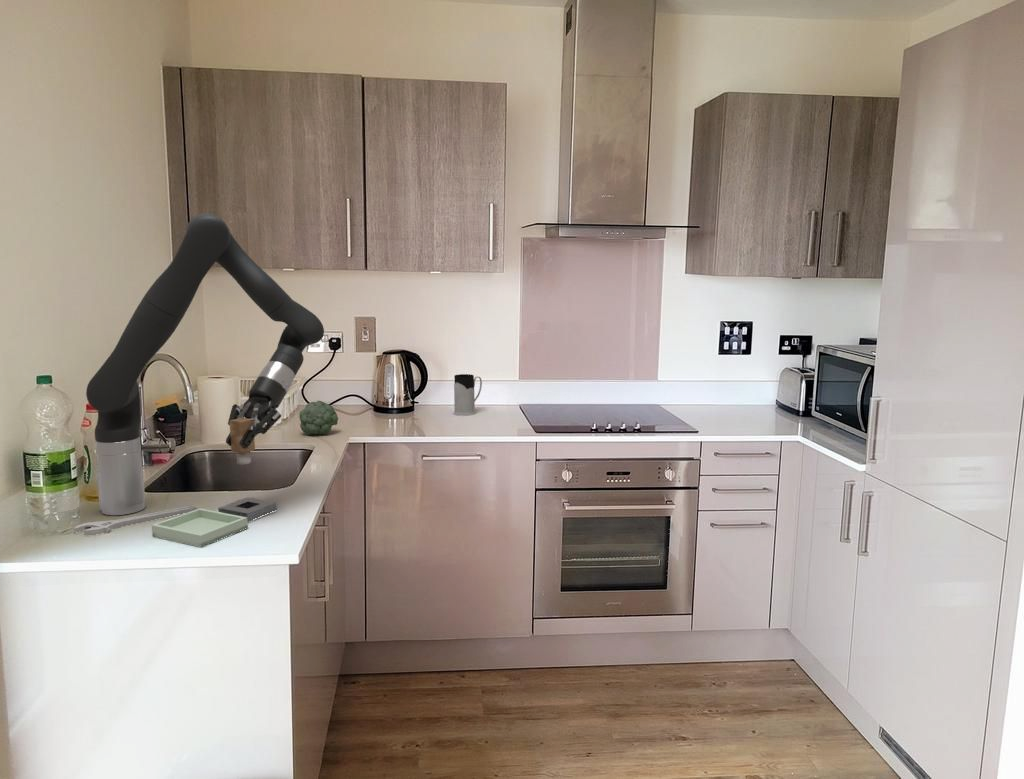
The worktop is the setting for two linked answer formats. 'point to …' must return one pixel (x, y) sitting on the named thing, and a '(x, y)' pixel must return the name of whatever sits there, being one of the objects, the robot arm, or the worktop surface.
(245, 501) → the socket block
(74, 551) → the worktop surface
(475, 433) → the worktop surface
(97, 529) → the adjustable wrench
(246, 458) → the wooden square peg
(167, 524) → the tray
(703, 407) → the worktop surface
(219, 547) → the worktop surface
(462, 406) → the grey black mug
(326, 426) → the vegetable
